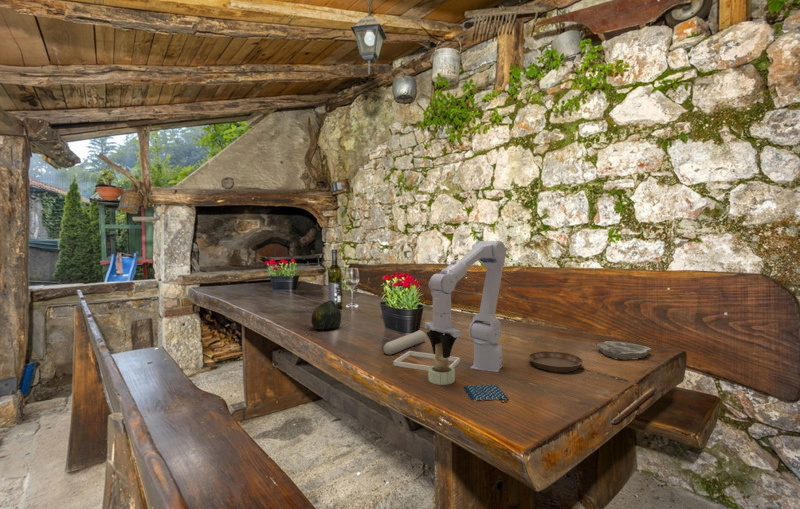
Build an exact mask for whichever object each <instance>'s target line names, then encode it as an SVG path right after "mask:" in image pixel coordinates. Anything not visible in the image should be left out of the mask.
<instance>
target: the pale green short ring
mask: <svg viewBox="0 0 800 509" xmlns="http://www.w3.org/2000/svg"><path fill="white" fill-rule="evenodd" d="M429 366H430V367H429V368H428V371H427V372H428V375H427V378H428V382H429V383H432V384H434V385H438V386H439V385H440V386H441V385H442V386H443V385H444V386H445V385H451V384H454V382H455V381H456V369H455V367H454V368H453V367H451V366H450V365H448V371H447V372H437V371H435V364H434V365H429Z"/></svg>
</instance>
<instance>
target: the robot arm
mask: <svg viewBox="0 0 800 509" xmlns="http://www.w3.org/2000/svg"><path fill="white" fill-rule="evenodd" d="M507 252H508V251H507V248H506V246H505V244H504V242H503V241H502V240H477V241H475V243H473V244H472V245H471V249H470V250H469V251H467V253H466V254H465V255H464V256H463V257H462V258H461V259H460V260H457V259H455V260H451V261H450V264H448V265H447V266H446V267H445V268H443V269H441V271H440V272H439V273H434V274H432V276H431V277H430V279H429V282H428V288H429V289H430V293H431V294H430V295H431V297H432V322H431V321H427V322H424V329H426V330H429V331H426V336H427V338H428V339H429V341H430V343H431V344H430V345H431V347H432V352H433V354H435V344H437V343H442V351H443V358H448V357H450V356H451V352H452V349H453V346H454V344H455V342H456V340H457V339H458V338H460V337H461V329H457V328H456V327H454V326H452V292H454V291H455V288H456V285H457V284H458V282H459V281H460V280H461V279H462V278H463V277H465V276H466V275H467V273H468V268H470V267H471V266H472V265H474V264H475V263H477V262H478V261H479V262H480V263H481V264H482V265H483V266H484V267H485V268H486V272H485V278H484V284H483V290H482V295H481V301H480V305H479V306H480V307H479V312H478V313H476V314H475V315H474V316H473V317H472V321H471V322H470V324H469V327H468V334H469V337H470V338H471V341H472V342H473V364H472V365H471V366H470V369H474V370H475V369H476V370H482V371H489V372H494V373H495V372H497V373H498V372H500V370H501V369H502V367H503V345H502V344H501V343H498V342H499V340H500V339H501V335H502V333H501V324H502V323H501V321H500V320H499V319H498V318H497V316H496V310H497V307H498V306H497V305H498V298H499V293H500V287H501V281H502V277H503V276H502V275H503V270H504V265H505V261H506V255H507Z"/></svg>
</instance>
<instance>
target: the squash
mask: <svg viewBox="0 0 800 509" xmlns="http://www.w3.org/2000/svg"><path fill="white" fill-rule="evenodd" d="M341 323H342V313H341V311H340V309H339V307H338V306H337V304H336V303H335V301H334V300H327V301H325V302H323V303H321V304H320V305H318V306H316V307H315V308H314V309H313V312H312V315H311V325H312V327H313V328H314V329H315V330H317V329H320V330H319V331H324V330H329V329H330V330H336V329H337V328H339V327H340V325H341ZM335 328H336V329H335Z"/></svg>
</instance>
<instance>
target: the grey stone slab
mask: <svg viewBox="0 0 800 509" xmlns="http://www.w3.org/2000/svg"><path fill="white" fill-rule="evenodd" d="M595 345H596V347H597V348H598V349H599V350H600V352H601V353H602V354H603V355H604V356H605V355H606V356H605V357H608V356H610V357H609V358H611V357H612V359H613V358H617V359H616V360H618V359H632V358H642V359H643V358H645V357H646V356H648V355H649V354H650V352H651V349H652V348H651V347H648V346H645V345H641V344H636V343H631V342H630V343H629V342H625V341H624V342H621V341H613V340H612V341H606V340H605V341H603V342H596V343H595ZM644 356H645V357H644Z"/></svg>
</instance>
